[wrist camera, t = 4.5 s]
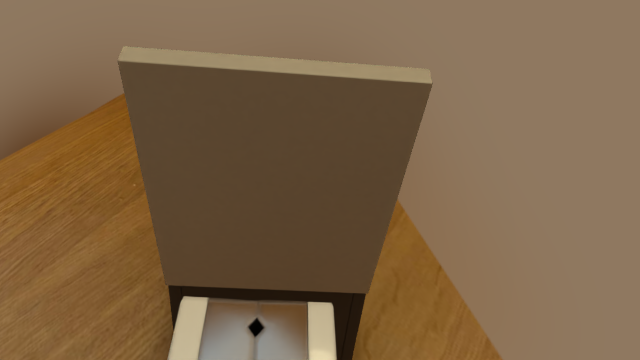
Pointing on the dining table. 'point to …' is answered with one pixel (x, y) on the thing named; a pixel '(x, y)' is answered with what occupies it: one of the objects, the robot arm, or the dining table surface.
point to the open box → (343, 303)
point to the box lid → (270, 164)
